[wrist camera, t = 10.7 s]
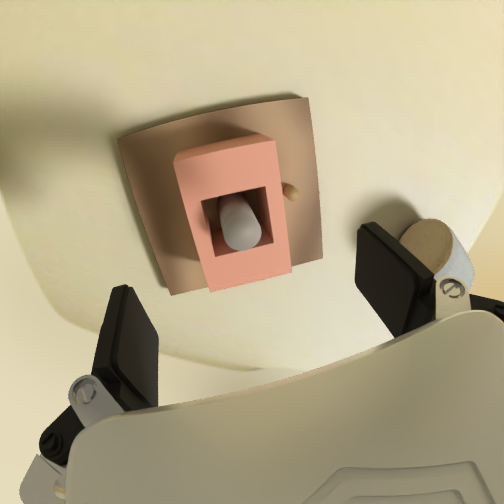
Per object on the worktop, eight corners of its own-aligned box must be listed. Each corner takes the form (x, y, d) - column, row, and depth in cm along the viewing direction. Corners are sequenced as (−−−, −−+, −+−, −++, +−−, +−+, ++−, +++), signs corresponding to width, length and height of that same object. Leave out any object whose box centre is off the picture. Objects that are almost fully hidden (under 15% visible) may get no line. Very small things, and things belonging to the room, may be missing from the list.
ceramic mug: (420, 202, 26) (469, 236, 19) (446, 239, 29) (486, 272, 22) (358, 277, 29) (394, 324, 22) (393, 301, 32) (425, 343, 26)
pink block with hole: (177, 151, 18) (172, 162, 15) (260, 133, 19) (275, 140, 15) (207, 263, 23) (210, 292, 20) (277, 246, 24) (291, 272, 20)
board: (171, 289, 25) (168, 340, 19) (120, 137, 18) (90, 151, 12) (318, 252, 26) (349, 294, 21) (303, 97, 19) (343, 97, 13)
